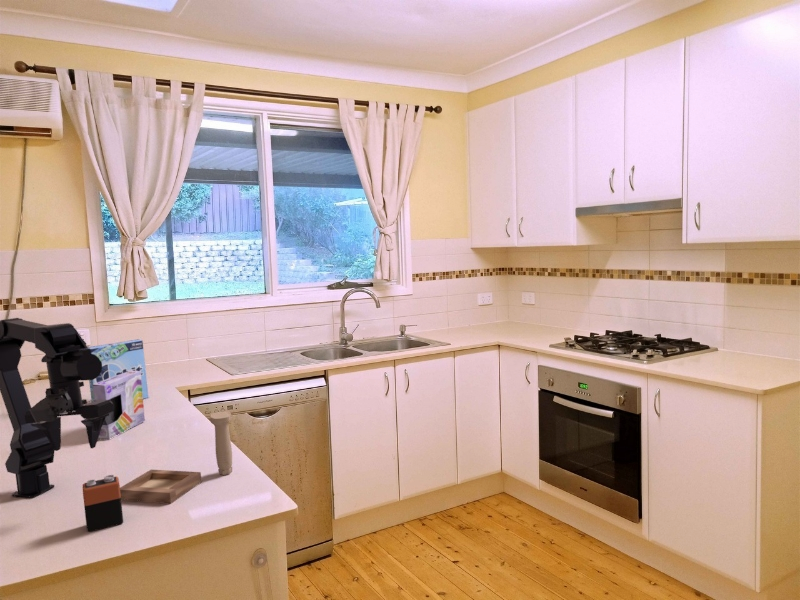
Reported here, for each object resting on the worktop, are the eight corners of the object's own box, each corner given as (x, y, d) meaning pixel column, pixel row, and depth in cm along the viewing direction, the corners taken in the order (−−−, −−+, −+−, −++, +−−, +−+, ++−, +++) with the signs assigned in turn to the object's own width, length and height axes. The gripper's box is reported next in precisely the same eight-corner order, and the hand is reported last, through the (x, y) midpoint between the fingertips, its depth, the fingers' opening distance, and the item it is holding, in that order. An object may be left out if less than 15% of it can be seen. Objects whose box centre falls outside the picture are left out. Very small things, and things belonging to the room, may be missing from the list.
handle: (233, 467, 155) (228, 410, 153) (237, 475, 149) (232, 416, 147) (214, 470, 153) (209, 413, 151) (217, 479, 147) (211, 419, 146)
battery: (123, 524, 126) (118, 478, 125) (87, 533, 122) (82, 485, 121) (122, 516, 129) (117, 471, 128) (86, 524, 126) (81, 478, 125)
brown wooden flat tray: (118, 499, 138) (116, 489, 138) (152, 479, 150) (151, 469, 149) (170, 503, 134) (169, 492, 134) (201, 482, 146) (200, 472, 146)
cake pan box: (108, 441, 182) (102, 384, 180) (93, 441, 183) (87, 384, 181) (147, 422, 201) (141, 370, 199) (133, 421, 202) (128, 370, 200)
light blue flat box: (144, 396, 237) (138, 338, 234) (149, 398, 233) (143, 340, 231) (91, 407, 223) (84, 347, 221) (95, 410, 220) (89, 348, 217)
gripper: (-2, 392, 128) (10, 463, 129) (73, 385, 124) (85, 459, 125) (39, 381, 139) (50, 447, 140) (110, 374, 135) (120, 442, 136)
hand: (75, 449), depth 135 cm, fingers open, 9 cm apart
